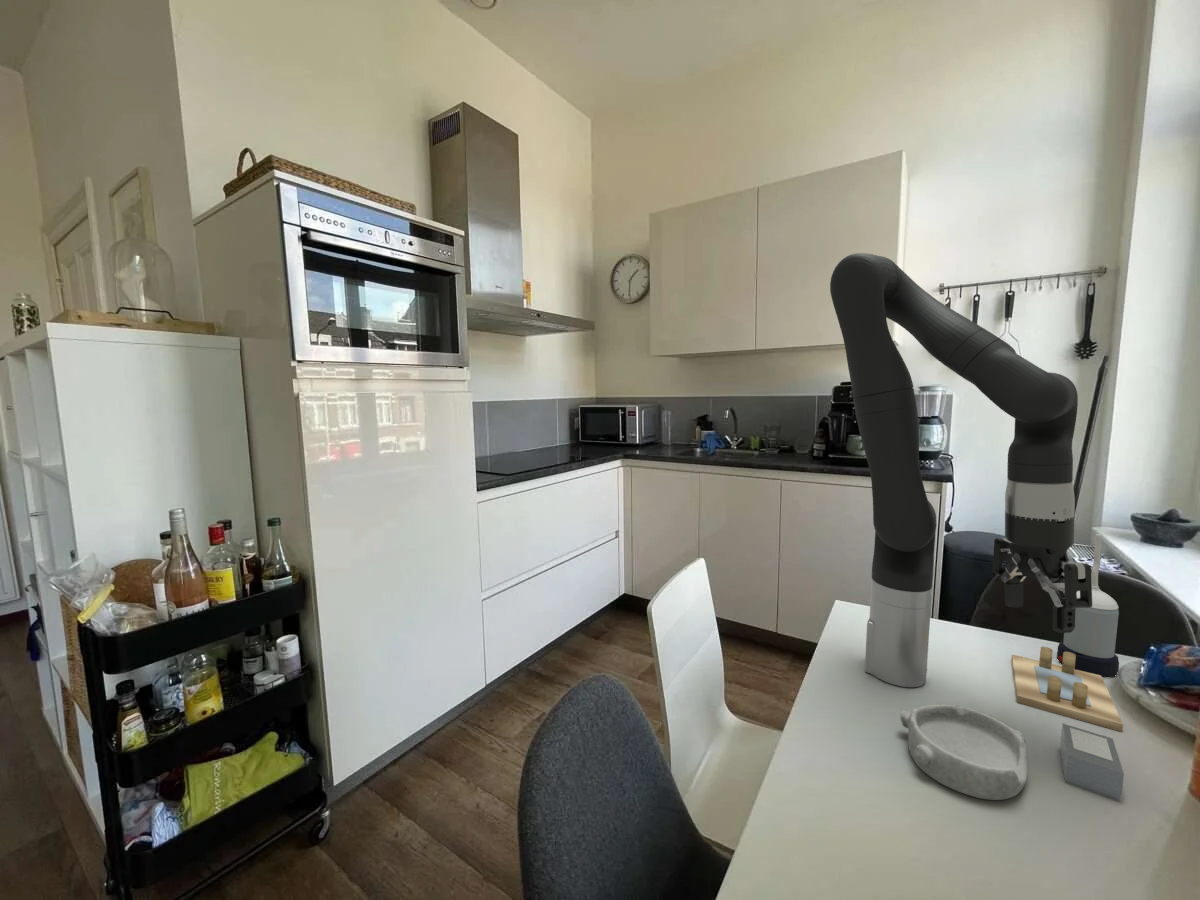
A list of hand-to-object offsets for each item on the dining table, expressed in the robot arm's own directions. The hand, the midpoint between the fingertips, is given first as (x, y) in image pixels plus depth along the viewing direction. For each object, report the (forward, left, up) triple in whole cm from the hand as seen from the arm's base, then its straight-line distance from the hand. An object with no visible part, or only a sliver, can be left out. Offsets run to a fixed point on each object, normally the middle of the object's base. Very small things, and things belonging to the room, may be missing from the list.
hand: (1037, 618), depth 72 cm
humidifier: (+10, +29, -18) cm, 35 cm away
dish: (-8, -15, -18) cm, 24 cm away
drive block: (+6, -7, -18) cm, 20 cm away
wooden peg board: (+5, +15, -17) cm, 24 cm away
